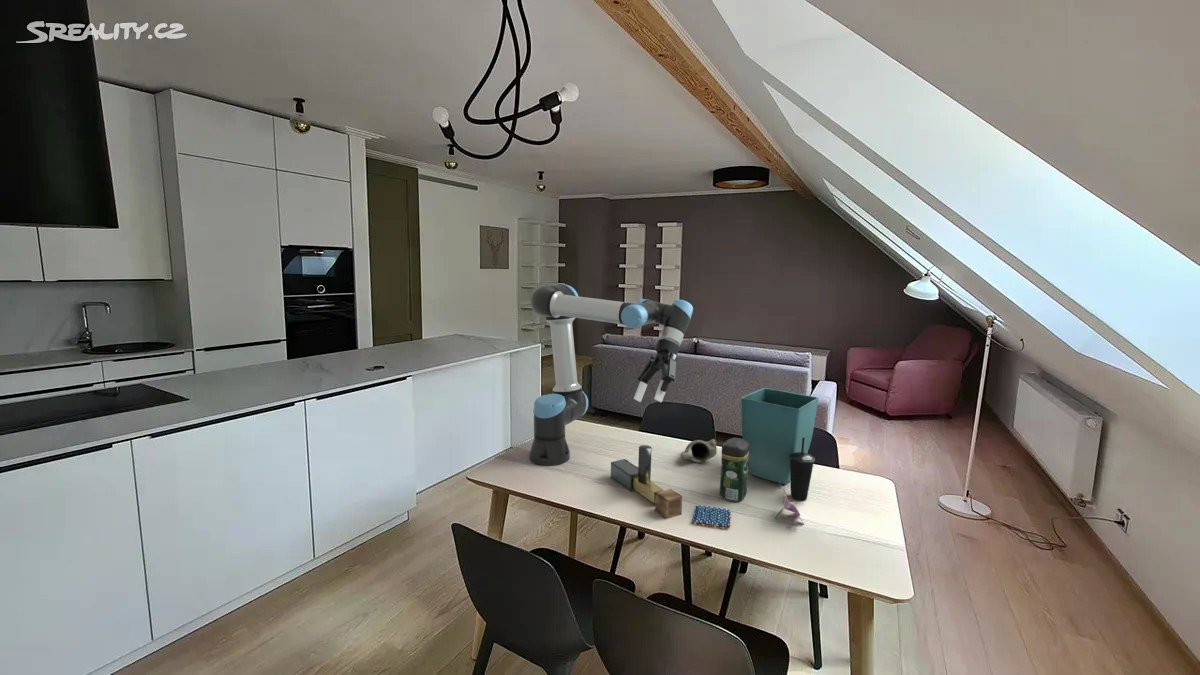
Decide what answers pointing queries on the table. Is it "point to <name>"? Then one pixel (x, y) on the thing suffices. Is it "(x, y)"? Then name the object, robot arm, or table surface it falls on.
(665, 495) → the socket
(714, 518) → the woven mat
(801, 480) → the drinking cup
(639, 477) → the slide bolt with knob
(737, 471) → the coffee jar
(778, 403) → the teal waste bin
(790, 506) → the lily
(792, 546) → the table surface
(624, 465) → the sleeve
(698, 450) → the pipe
